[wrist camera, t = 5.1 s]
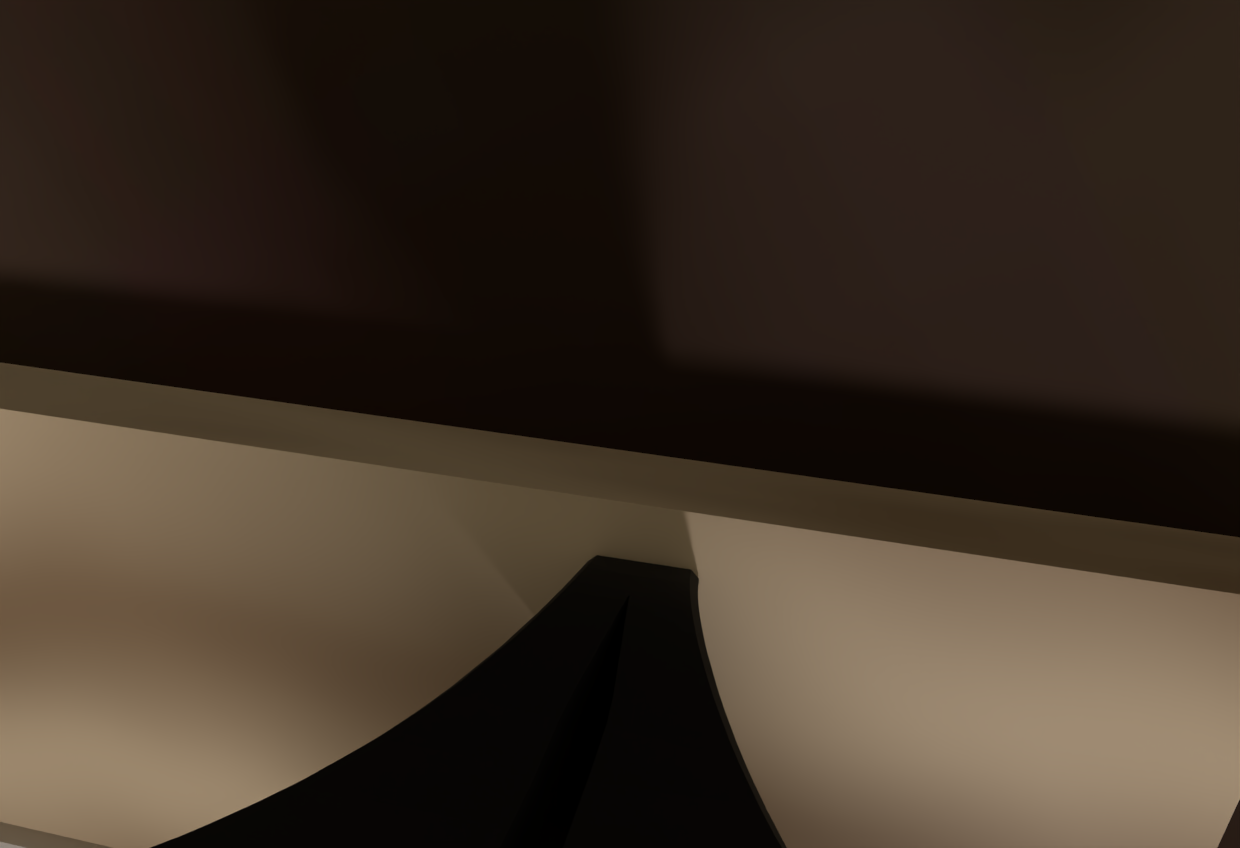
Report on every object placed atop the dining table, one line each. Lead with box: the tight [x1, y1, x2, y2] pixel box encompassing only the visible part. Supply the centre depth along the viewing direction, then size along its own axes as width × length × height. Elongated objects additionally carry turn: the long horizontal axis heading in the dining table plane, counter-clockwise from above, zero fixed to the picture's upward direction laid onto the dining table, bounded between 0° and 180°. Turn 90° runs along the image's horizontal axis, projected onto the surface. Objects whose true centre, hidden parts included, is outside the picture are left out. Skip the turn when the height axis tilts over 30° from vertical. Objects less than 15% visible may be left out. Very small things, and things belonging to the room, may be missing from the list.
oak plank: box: [0, 363, 1240, 848], centre depth 13 cm, size 8×22×2 cm, turn 86°
